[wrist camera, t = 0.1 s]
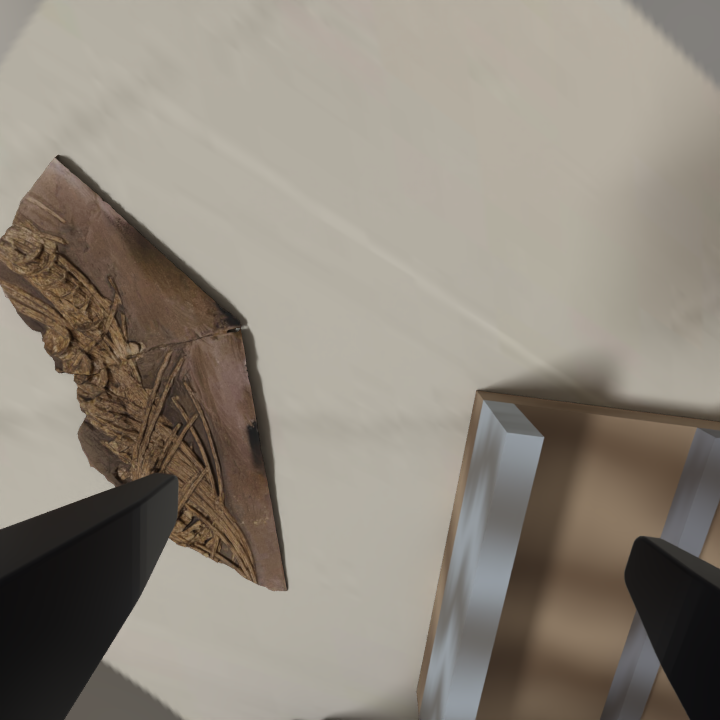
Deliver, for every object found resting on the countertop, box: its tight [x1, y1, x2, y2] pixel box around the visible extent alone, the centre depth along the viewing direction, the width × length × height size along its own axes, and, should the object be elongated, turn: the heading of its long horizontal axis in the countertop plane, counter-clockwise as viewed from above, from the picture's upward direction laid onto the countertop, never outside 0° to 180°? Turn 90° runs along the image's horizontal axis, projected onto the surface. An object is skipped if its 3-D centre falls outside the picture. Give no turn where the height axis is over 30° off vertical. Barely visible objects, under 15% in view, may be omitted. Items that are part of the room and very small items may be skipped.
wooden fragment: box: [0, 155, 287, 591], centre depth 24 cm, size 26×11×1 cm, turn 20°
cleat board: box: [417, 390, 720, 720], centre depth 23 cm, size 20×16×6 cm
